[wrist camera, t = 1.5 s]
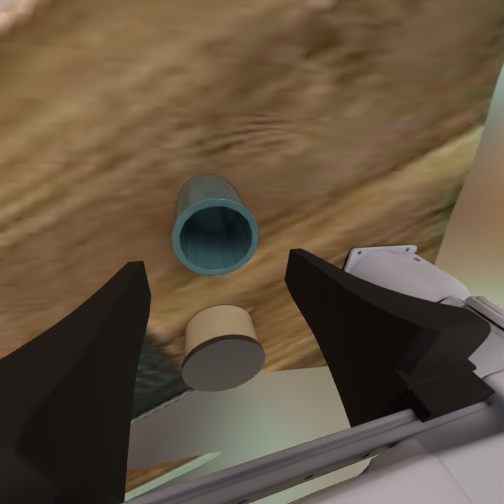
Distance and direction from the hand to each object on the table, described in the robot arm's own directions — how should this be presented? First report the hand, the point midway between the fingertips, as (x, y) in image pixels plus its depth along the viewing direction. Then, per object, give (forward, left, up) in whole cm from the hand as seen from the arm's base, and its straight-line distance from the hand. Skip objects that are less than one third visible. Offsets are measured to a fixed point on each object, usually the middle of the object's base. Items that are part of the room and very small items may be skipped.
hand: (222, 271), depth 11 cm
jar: (-1, +16, -10) cm, 19 cm away
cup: (0, 0, -10) cm, 10 cm away
